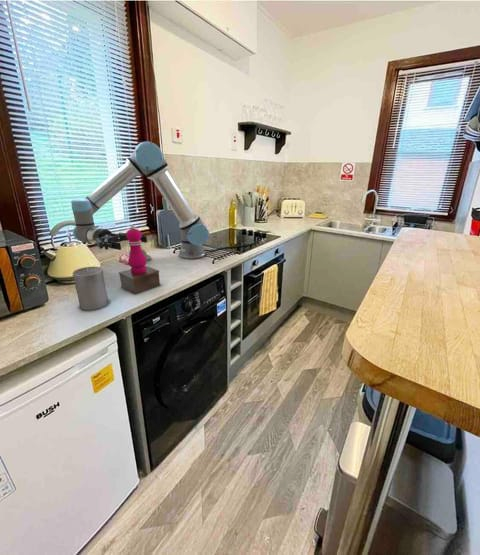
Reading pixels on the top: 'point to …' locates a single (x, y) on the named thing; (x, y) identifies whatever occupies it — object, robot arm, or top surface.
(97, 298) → the pillar candle
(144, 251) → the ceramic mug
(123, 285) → the block
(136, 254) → the pepper mill
